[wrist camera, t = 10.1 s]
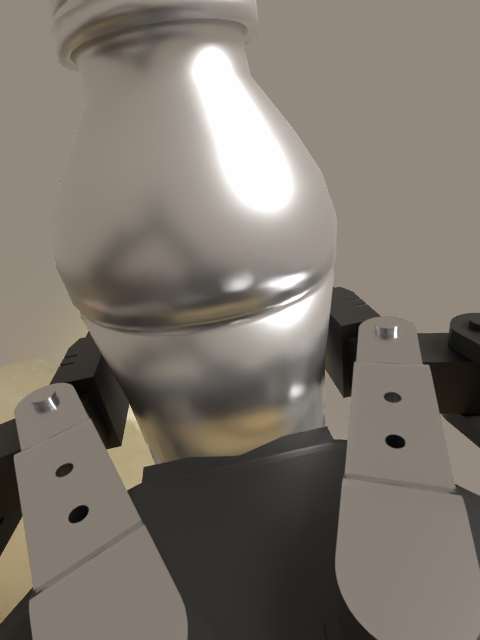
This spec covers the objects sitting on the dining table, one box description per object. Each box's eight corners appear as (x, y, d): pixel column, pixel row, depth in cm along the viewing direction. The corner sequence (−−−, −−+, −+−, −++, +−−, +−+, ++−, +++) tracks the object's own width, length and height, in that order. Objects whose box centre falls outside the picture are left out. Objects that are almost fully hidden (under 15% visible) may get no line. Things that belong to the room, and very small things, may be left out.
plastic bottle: (273, 755, 11) (-80, -455, 2) (159, 584, 16) (-95, -15, 7) (387, 586, 15) (424, -148, 6) (266, 487, 19) (184, 6, 11)
